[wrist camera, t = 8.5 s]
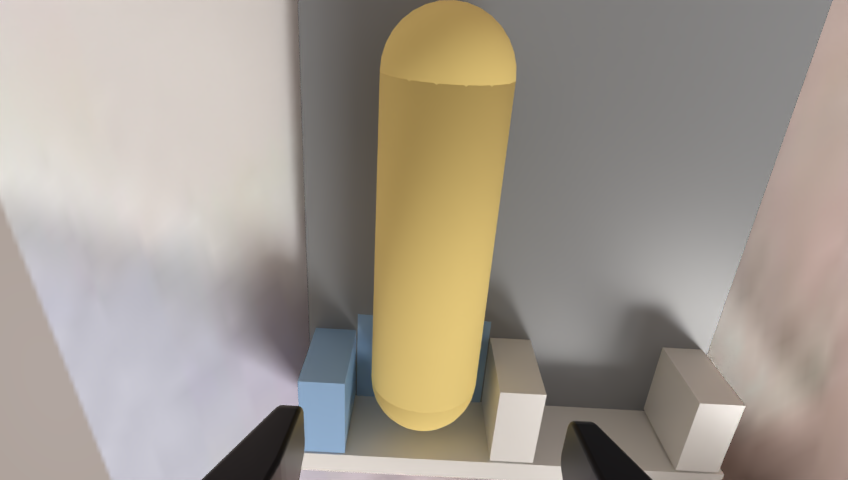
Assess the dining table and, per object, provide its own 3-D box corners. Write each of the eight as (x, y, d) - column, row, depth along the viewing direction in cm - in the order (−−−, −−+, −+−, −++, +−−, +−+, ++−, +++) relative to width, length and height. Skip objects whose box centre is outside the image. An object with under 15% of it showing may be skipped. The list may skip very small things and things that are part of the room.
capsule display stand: (831, -39, 15) (945, -49, 12) (673, 419, 22) (716, 493, 19) (299, -77, 15) (263, -98, 11) (314, 400, 22) (294, 471, 18)
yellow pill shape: (386, -6, 15) (376, -6, 12) (513, 3, 15) (539, 5, 12) (374, 380, 20) (365, 453, 17) (466, 384, 21) (475, 457, 17)
